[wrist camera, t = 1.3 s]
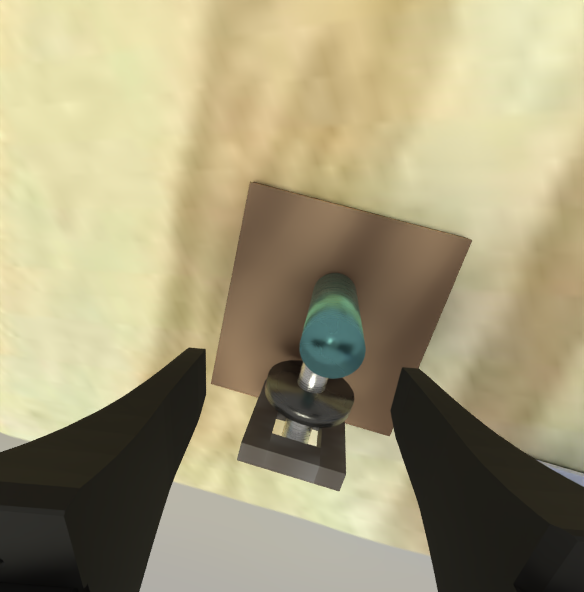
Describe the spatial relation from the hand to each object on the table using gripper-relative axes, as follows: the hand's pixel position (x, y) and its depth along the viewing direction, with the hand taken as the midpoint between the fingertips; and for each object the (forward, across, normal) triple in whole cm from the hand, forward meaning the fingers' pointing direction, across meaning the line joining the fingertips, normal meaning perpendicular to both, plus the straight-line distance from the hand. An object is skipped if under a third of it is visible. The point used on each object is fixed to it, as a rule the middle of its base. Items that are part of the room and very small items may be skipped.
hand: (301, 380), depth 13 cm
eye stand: (+10, -2, +2) cm, 11 cm away
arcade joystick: (+8, -1, +4) cm, 10 cm away
